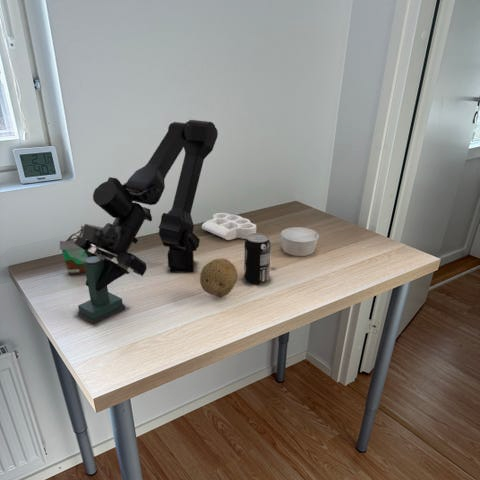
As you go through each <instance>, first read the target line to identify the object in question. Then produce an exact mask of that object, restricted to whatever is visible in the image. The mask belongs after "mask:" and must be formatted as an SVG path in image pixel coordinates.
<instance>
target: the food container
mask: <svg viewBox="0 0 480 480" xmlns="http://www.w3.org/2000/svg"><path fill="white" fill-rule="evenodd" d="M83 229H84V225H80V229H79V230H78V231H77V232H75V233H73V234H71V235H70V236H69V237H68V238H67V239H66V240H60V241H59V250H61V253H62V255H63V259H64V260H63V261H64V263H65V267H66V270H67V274H68V275H69V276H79V275H86V272H85V267H84V262H85V259H87V258H88V256H87V254H86V253H85V250H83V249H82V248H80V247H79V246H77V245H76V244H74V243H75V241H76V240H77V238H78V236H81V235H82V234H83Z"/></svg>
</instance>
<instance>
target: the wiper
mask: <svg viewBox="0 0 480 480" xmlns="http://www.w3.org/2000/svg"><path fill="white" fill-rule="evenodd" d="M84 267H85V272H86V273H85V278H86V279H87V283H88V286H87V288H88V294H89V298H90V299H89V300H87V301H84V302H83V303H82V302H81V304H78V306H77V307H78V311H77V316H78V317H79V318H81V319H83V320H84V321H87V322H88V323H90V324H92V325H97V324H98V323H100V322H102V321H105V320H107V319H109V318H110V317H112V316H114V315H116V314H118V313H120V312H122V311H124V310H126V304H124V302H123V298H121V297H120V296H118V295H116V294H114V293H111V292H109V288H108V285H107V286H106V287H104V288H103V289H102V290H100V291H97V290H95V287H96V284H97V282H98V280H99V278H100V276H101V274H102V272H103V270H104V263H103V261H101V258H100V257H97V256H93V257H89V258H87V259H85V262H84Z"/></svg>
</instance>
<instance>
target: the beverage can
mask: <svg viewBox="0 0 480 480" xmlns="http://www.w3.org/2000/svg"><path fill="white" fill-rule="evenodd" d="M246 238H247V239H245V241H244V255H243V256H244V259H243V260H244V261H243V262H244V264H243V279H244V280H245V281H246V282H247V283H249V284H251V285H255V286H256V285H263V284H265V283H267V282H268V281H269V279H270V270H271V269H270V268H271V267H270V266H271V265H270V264H271V245H272V243H271V241H270V236H269V235H268V234H266V233H261V232H256V233H252V234H249V235H247V237H246Z"/></svg>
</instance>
